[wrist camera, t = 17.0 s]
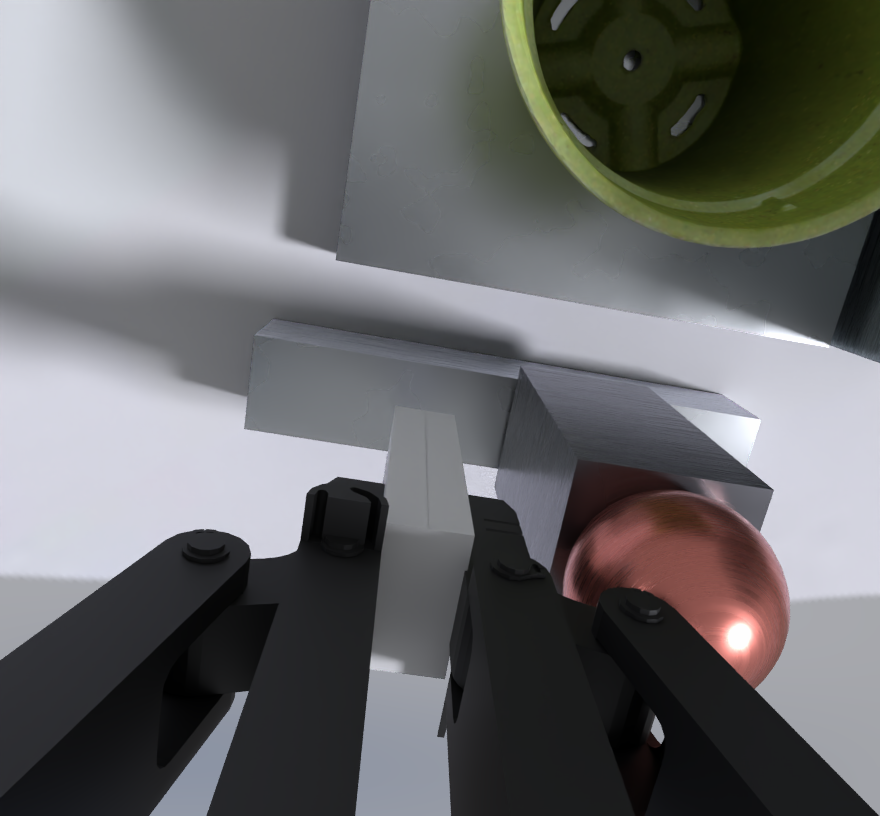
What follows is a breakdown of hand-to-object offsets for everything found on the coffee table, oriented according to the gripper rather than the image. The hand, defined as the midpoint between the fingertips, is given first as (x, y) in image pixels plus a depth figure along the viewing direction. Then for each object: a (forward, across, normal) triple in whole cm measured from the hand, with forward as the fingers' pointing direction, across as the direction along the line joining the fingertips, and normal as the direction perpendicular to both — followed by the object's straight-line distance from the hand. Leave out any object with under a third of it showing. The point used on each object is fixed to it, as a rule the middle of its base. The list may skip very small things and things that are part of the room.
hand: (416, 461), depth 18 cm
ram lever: (+4, +5, 0) cm, 6 cm away
